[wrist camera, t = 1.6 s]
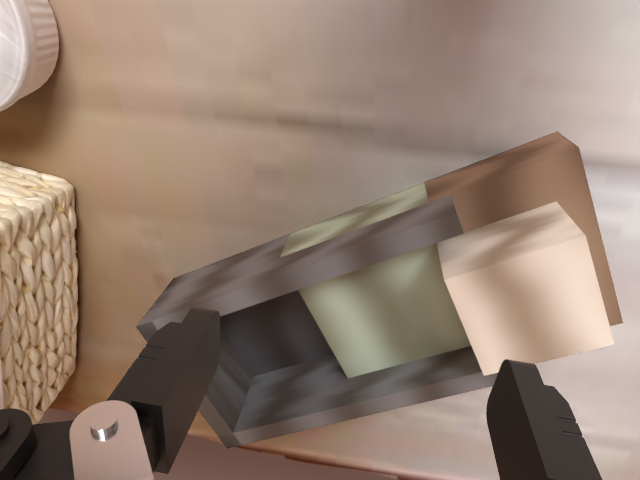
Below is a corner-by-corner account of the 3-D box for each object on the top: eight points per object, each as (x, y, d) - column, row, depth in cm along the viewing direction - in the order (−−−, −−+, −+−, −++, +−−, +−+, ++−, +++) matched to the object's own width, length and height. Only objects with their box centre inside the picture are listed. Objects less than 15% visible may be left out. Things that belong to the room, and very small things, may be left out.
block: (556, 201, 30) (585, 235, 25) (583, 298, 33) (614, 344, 28) (436, 242, 32) (444, 279, 28) (471, 329, 35) (483, 375, 31)
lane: (557, 131, 32) (598, 162, 26) (600, 292, 37) (643, 350, 31) (173, 278, 42) (135, 326, 35) (248, 389, 47) (227, 448, 40)
